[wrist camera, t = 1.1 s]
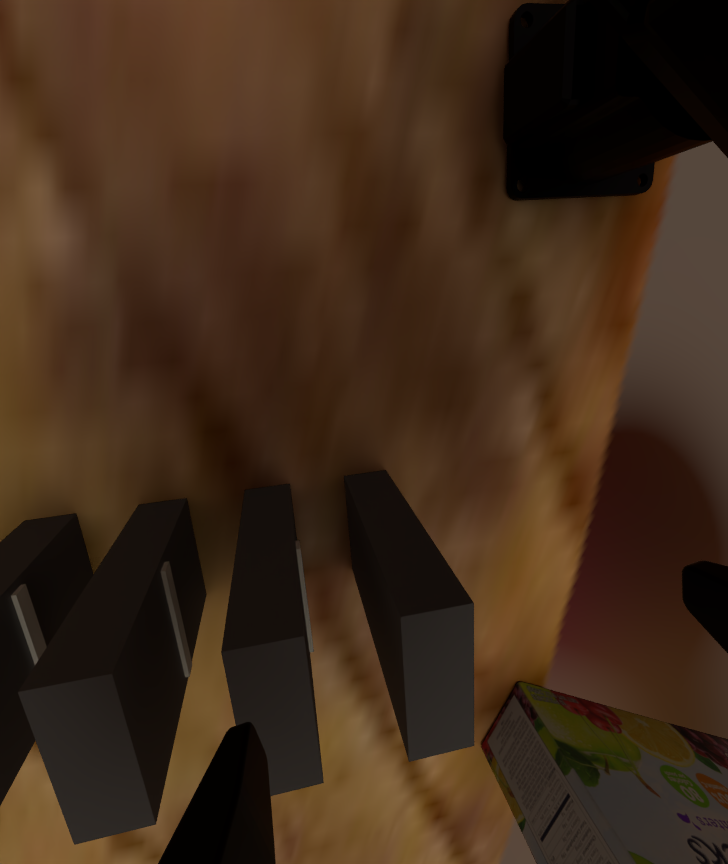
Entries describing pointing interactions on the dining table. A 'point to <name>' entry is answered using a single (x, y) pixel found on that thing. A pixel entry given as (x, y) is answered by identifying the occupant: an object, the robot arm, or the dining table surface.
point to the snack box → (608, 782)
